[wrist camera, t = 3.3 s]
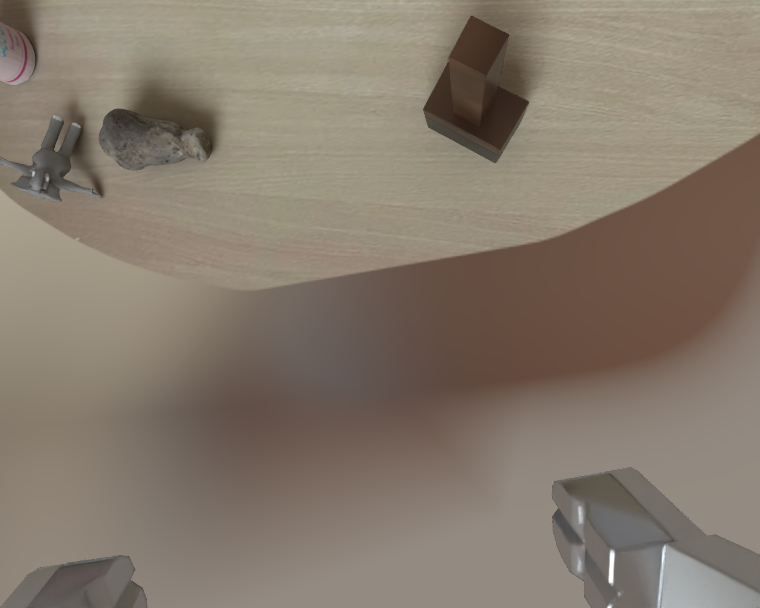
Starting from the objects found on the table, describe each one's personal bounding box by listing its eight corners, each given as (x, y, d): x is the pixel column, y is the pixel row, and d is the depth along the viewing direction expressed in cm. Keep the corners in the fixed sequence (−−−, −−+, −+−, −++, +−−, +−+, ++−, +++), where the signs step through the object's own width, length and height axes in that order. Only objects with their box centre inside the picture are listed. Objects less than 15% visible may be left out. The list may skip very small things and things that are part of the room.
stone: (227, 137, 41) (157, 64, 36) (206, 168, 37) (127, 92, 32) (172, 176, 45) (104, 117, 40) (150, 206, 42) (73, 146, 37)
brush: (427, 127, 35) (405, 53, 22) (450, 84, 35) (442, -18, 21) (495, 163, 35) (514, 109, 22) (521, 120, 34) (556, 37, 21)
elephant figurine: (121, 134, 42) (92, 210, 41) (122, 154, 47) (96, 223, 46) (0, 82, 37) (-39, 166, 36) (16, 111, 42) (-18, 186, 41)
